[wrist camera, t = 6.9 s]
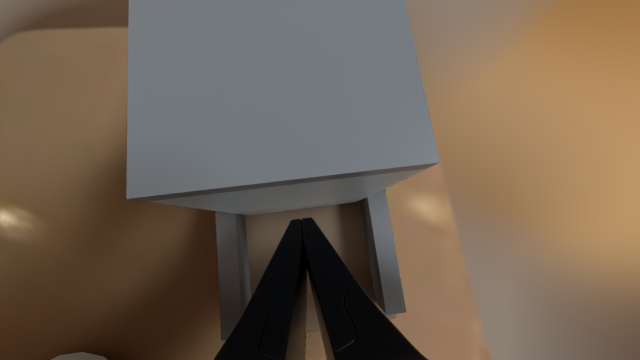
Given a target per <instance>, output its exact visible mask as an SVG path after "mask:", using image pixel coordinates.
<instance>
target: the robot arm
mask: <svg viewBox="0 0 640 360" xmlns="http://www.w3.org/2000/svg"><path fill="white" fill-rule="evenodd" d="M307 271H308V276H309V281H310V286H311V290H312V295H313V299H314V304H315V308H316V313H317V317H318V322H319V326H320V331H321V335H322V339H323V344H324V348H325V353H326V357H327V360H428V359H427V358H425V357H424V356H423V355H422V354H421V353H420V352H419V351H418V350H417V349H416V348H415V347H414V346H413V345H412V344H411V343H410V342H409V341H408V340H407V339H406V338H405V337H404V335H403V334H402V333H401V332H400V331H399V330H398V329H397V328H396V327H395V326H394V324H393V323H392V322H391V321H390V320H389V319H388V318H387V317H386V316H385V315H384V314H383V312H382V311H381V310H380V309H379V308H378V307H377V305H376V304H375V303H374V302H373V301H372V300H371V298H370V297H369V296H368V295H367V293H366V292H365V291H364V289H363V288H362V287H361V285H360V284H359V282H358V281H357V280H356V279H355V277H354V276H353V274H352V273H351V271H350V270H349V268H348V267H347V266H346V264H345V263H344V261H343V260H342V259H341V257H340V256H339V254H338V253H337V252H336V250H335V249H334V247H333V246H332V245H331V243H330V242H329V240H328V239H327V237H326V236H325V235H324V233H323V232H322V230H321V229H320V228H319V226H318V225H317V223H316V222H315V221H314V219H313V218H312V217H308V218H303V219H302V220H301V219H292V220H291V221H290V223H289V225H288V227H287V229H286V231H285V232H284V234H283V236H282V238H281V240H280V242H279V244H278V246H277V248H276V250H275V252H274V254H273V256H272V258H271V260H270V262H269V264H268V266H267V268H266V270H265V272H264V274H263V276H262V278H261V279H260V281H259V283H258V285H257V287H256V289H255V293H253V295H252V297H251V299H250V301H249V303H248V305H247V306H246V308H245V310H244V312H243V314H242V316H241V317H240V319H239V321H238V322H237V324H236V326H235V327H234V329H233V330H232V332H231V334H230V335H229V337H228V338H227V340H226V341H225V343H224V344H223V346H222V348H221V349H220V351H219V352H218V354H217V355H216V357H215V358H214V360H305V347H306V312H307Z"/></svg>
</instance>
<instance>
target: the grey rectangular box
mask: <svg viewBox="0 0 640 360" xmlns="http://www.w3.org/2000/svg"><path fill="white" fill-rule="evenodd" d="M437 163H440V161H439V157H438V152H437V147H436V143H435V138H434V134H433V129H432V124H431V120H430V115H429V111H428V106H427V101H426V97H425V92H424V88H423V83H422V78H421V74H420V69H419V65H418V60H417V56H416V51H415V46H414V42H413V37H412V32H411V28H410V24H409V19H408V15H407V10H406V5H405V1H404V0H129V35H128V111H127V187H126V199H130V200H138V201H145V202H153V203H160V204H168V205H175V206H183V207H190V208H198V209H205V210H212V211H220V212H227V213H235V214H242V215H257V214H265V213H273V212H281V211H289V210H297V209H305V208H313V207H321V206H329V205H337V204H346V203H354V202H358V201H360V200H362V199H364V198H366V197H368V196H370V195H372V194H375V193H377V192H379V191H381V190H383V189H385V188H387V187H389V186H391V185H393V184H396V183H398V182H400V181H402V180H404V179H406V178H408V177H410V176H412V175H414V174H417V173H419V172H421V171H423V170H425V169H427V168H429V167H431V166H433V165H435V164H437Z"/></svg>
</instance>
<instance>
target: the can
mask: <svg viewBox="0 0 640 360" xmlns="http://www.w3.org/2000/svg"><path fill="white" fill-rule="evenodd" d="M51 360H108V359H106V358H105V357H103V356H99V355H94V354H89V353H85V352H79V353H72V354H65V355H59V356H57V357H55V358H53V359H51Z"/></svg>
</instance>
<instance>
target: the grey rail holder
mask: <svg viewBox="0 0 640 360" xmlns="http://www.w3.org/2000/svg"><path fill="white" fill-rule="evenodd" d="M308 217H312V218H313V219H314V221H315V222H316V223H317V225H318V226H319V228H320V229H321V230H322V232H323V233H324V235H325V236H326V237H327V239H328V240H329V242H330V243H331V245H332V246H333V247H334V249H335V250H336V252H337V253H338V254H339V256H340V257H341V259H342V260H343V261H344V263H345V264H346V266H347V267H348V268H349V270H350V271H351V273H352V274H353V276H354V277H355V279H356V280H357V281H358V282H359V284H360V285H361V287H362V288H363V289H364V291H365V292H366V293H367V295H368V296H369V297H370V298H371V300H372V301H373V302H374V303H375V304H376V305H377V307H378V308H379V309H380V310H381V311H382V312H383V314H384V315H385V316H386V317H387V318H388V319H395V318H396V316H395V314H397V313H404V312H406V308H405V302H404V297H403V291H402V285H401V279H400V274H399V268H398V262H397V256H396V251H395V245H394V239H393V233H392V228H391V222H390V216H389V210H388V205H387V199H386V193H385V189H383V190H381V191H379V192H377V193H375V194H372V195H370V196H368V197H366V198H364V199H362V200H360V201H358V202H354V203H346V204H337V205H329V206H321V207H313V208H305V209H297V210H289V211H281V212H273V213H265V214H257V215H242V214H235V213H227V212H220V211H215V218H216V238H217V258H218V278H219V298H220V318H221V338H222V340H226V339H227V338H228V337H229V335H230V334H231V332H232V330H233V329H234V327H235V326H236V324H237V322H238V321H239V319H240V317H241V316H242V314H243V312H244V310H245V308H246V306H247V305H248V303H249V301H250V299H251V297H252V295H253V293H255V289H256V287H257V285H258V283H259V281H260V279H261V278H262V276H263V274H264V272H265V270H266V268H267V266H268V264H269V262H270V260H271V258H272V256H273V254H274V252H275V250H276V248H277V246H278V244H279V242H280V240H281V238H282V236H283V234H284V232H285V231H286V229H287V227H288V225H289V223H290V221H291V220H292V219H301V220H302V219H303V218H308ZM316 330H320V326H319V322H318V317H317V313H316V308H315V304H314V299H313V295H312V290H311V286H310V281H309V276H308V271H307V312H306V332H310V331H316Z"/></svg>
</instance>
